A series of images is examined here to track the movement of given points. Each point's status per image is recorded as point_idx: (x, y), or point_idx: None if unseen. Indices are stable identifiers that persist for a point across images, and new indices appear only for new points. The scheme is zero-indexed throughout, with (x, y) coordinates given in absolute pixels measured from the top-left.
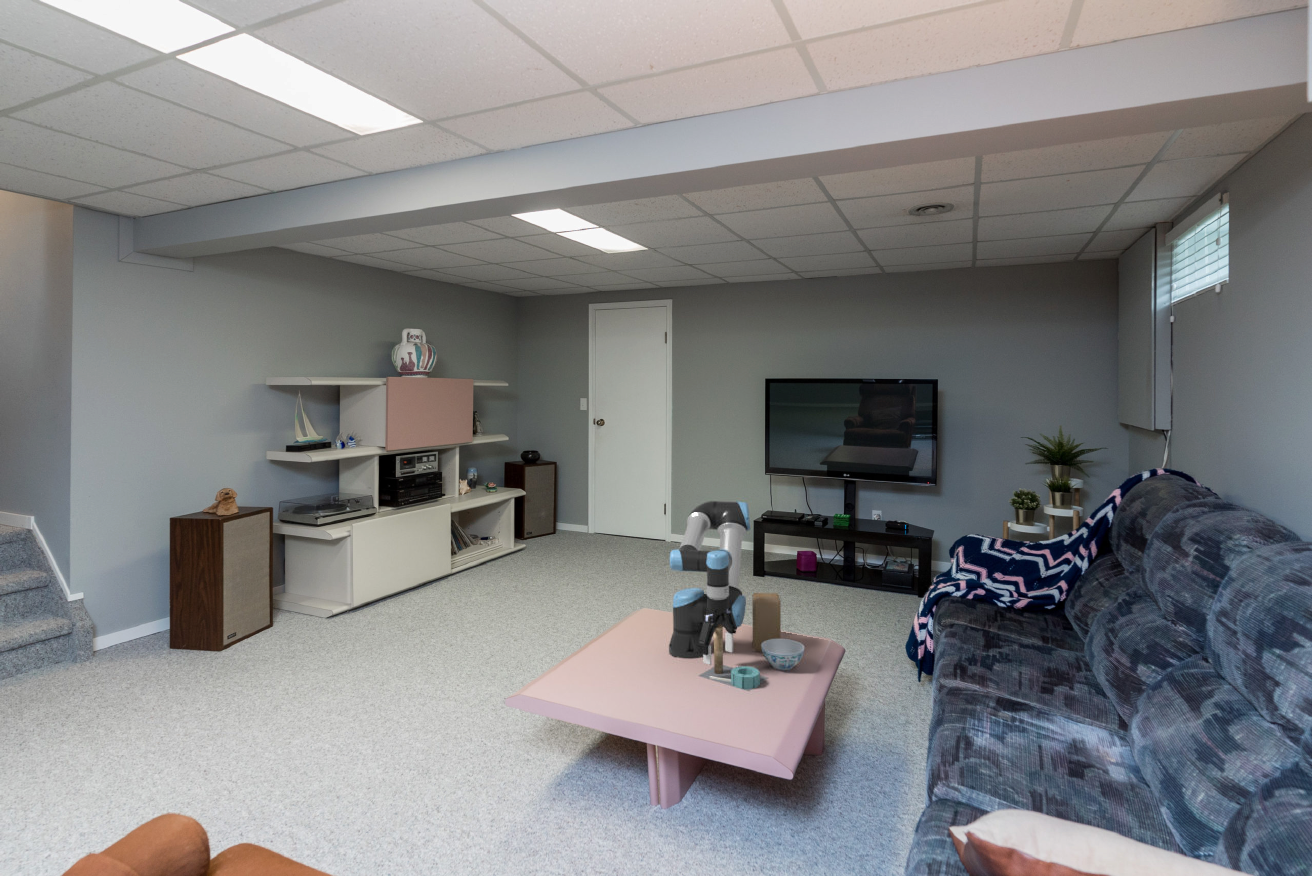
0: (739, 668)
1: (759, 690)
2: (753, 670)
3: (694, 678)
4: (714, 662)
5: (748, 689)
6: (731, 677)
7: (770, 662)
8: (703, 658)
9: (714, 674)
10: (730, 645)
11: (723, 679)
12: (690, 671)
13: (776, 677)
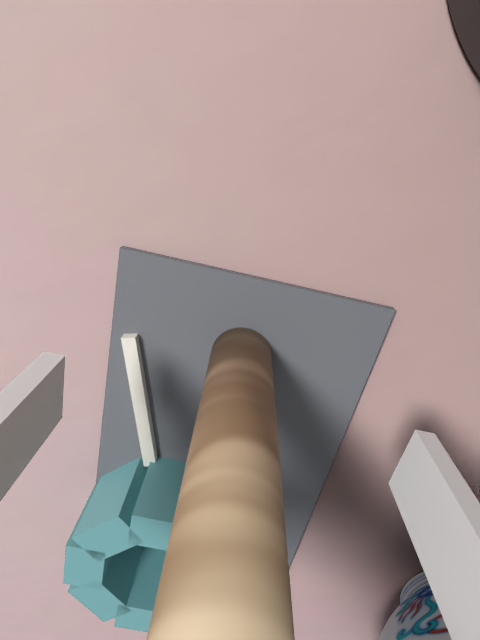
0: None
1: None
2: None
3: (83, 231)
4: (213, 373)
5: None
6: (121, 485)
7: (393, 619)
8: (18, 376)
9: (197, 341)
10: (418, 525)
11: (136, 420)
12: (184, 145)
13: (314, 594)
